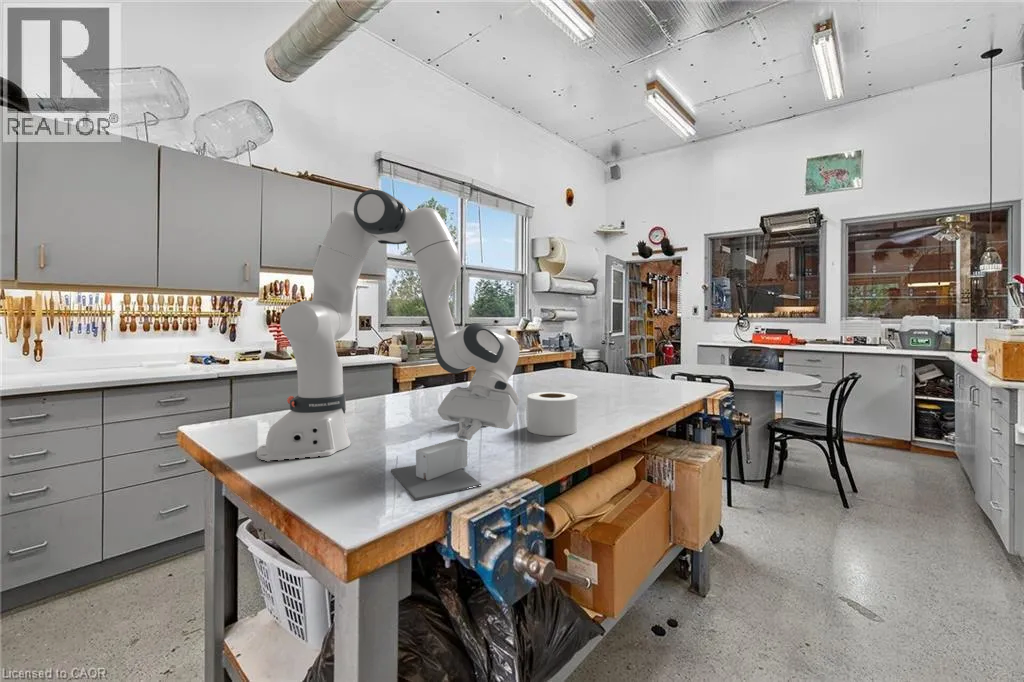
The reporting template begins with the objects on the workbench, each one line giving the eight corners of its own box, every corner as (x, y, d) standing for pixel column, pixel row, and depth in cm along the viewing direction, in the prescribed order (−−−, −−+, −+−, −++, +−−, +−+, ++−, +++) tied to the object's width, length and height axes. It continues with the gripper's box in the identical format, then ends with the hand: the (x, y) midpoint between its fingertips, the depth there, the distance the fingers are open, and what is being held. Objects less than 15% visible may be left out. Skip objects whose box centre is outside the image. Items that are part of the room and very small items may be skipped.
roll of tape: (527, 423, 146) (527, 390, 145) (575, 423, 145) (575, 391, 144) (526, 436, 130) (526, 399, 130) (579, 437, 129) (579, 400, 129)
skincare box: (456, 437, 105) (414, 448, 96) (469, 441, 102) (427, 452, 93) (455, 463, 106) (414, 476, 96) (469, 467, 103) (427, 481, 94)
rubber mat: (415, 500, 85) (415, 497, 85) (390, 471, 101) (390, 469, 101) (481, 486, 92) (481, 483, 92) (448, 461, 108) (448, 459, 108)
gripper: (447, 379, 114) (422, 425, 107) (516, 385, 104) (494, 436, 96) (458, 393, 118) (435, 438, 111) (525, 401, 108) (505, 451, 100)
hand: (463, 438), depth 103 cm, fingers closed
